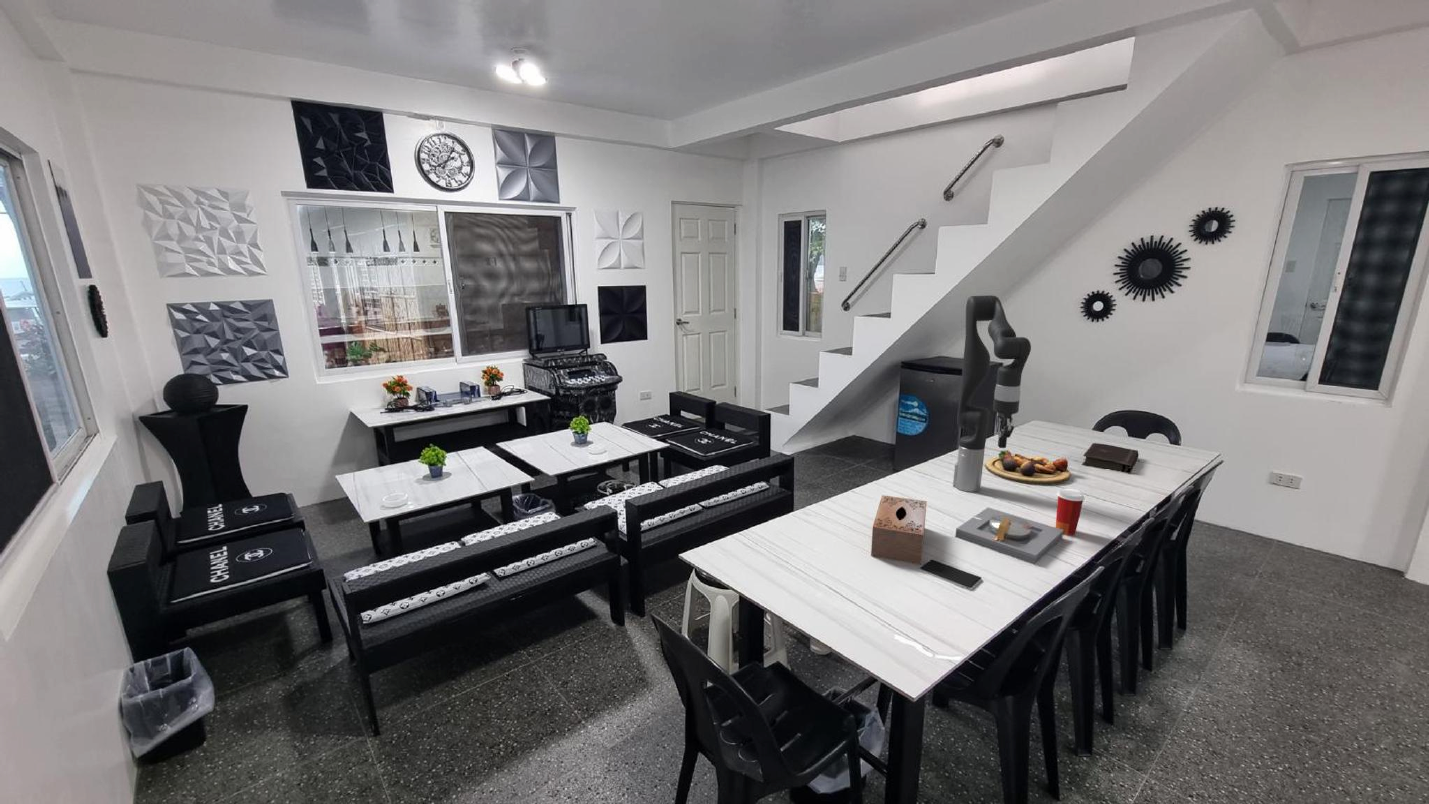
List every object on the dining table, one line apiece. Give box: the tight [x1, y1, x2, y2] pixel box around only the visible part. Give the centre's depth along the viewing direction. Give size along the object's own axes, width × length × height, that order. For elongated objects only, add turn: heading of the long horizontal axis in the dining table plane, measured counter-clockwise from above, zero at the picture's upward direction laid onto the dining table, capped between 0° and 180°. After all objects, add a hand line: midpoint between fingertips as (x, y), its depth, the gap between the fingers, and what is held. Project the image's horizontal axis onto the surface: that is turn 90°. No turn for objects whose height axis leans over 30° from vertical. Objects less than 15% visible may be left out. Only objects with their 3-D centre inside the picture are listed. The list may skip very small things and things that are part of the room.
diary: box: [1081, 442, 1140, 475], centre depth 252 cm, size 19×25×5 cm
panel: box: [955, 507, 1064, 565], centre depth 184 cm, size 24×24×3 cm
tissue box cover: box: [870, 494, 928, 566], centre depth 181 cm, size 26×14×10 cm, turn 158°
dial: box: [989, 515, 1032, 540], centre depth 181 cm, size 17×12×6 cm
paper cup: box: [1055, 488, 1086, 537], centre depth 186 cm, size 8×8×14 cm
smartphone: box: [919, 559, 982, 591], centre depth 163 cm, size 8×1×15 cm
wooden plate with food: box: [984, 449, 1072, 486], centre depth 241 cm, size 32×32×8 cm
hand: (1001, 447), depth 191 cm, fingers closed
